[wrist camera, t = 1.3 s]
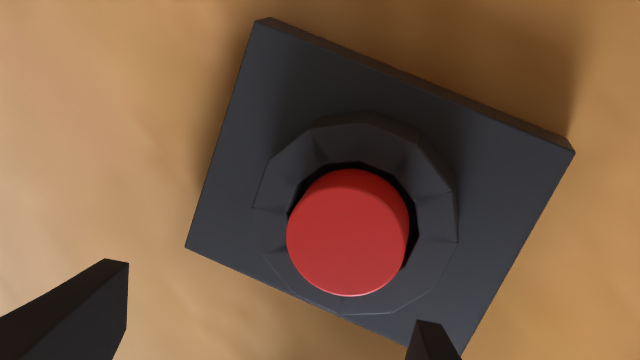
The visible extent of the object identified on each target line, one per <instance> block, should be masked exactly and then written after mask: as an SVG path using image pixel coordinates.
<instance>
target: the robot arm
mask: <svg viewBox="0 0 640 360" xmlns="http://www.w3.org/2000/svg"><path fill="white" fill-rule="evenodd" d="M128 273H129V263H127V262H121V261H116V260H111V259H106V258H104V259H103V260H101V261H99V262H97V263H96V264H94V265H92V266H91V267H89V268H87V269H86V270H84V271H82V272H81V273H79V274H78V275H76V276H74V277H73V278H71V279H69V280H68V281H66V282H64V283H63V284H61V285H59V286H57V287H56V288H54V289H52V290H51V291H49V292H47V293H45V294H44V295H42V296H40V297H38V298H36V299H34V300H33V301H31V302H29V303H27V304H25V305H23V306H21V307H19V308H17V309H15V310H13V311H12V312H10V313H8V314H6V315H4V316H2V317H0V360H112V359H113V357H114V355H115V353H116V350H117V348H118V346H119V344H120V342H121V339H122V337H123V335H124V333H125V331H126V322H127V297H128ZM405 360H462V359H461V357H460V356H459V354H458V352H457V350H456V349H455V347H454V345H453V343H452V341H451V340H450V338H449V336H448V334H447V333H446V331H445V329H444V327H443V326H442V324H439V323H434V322H429V321H424V320H419V319H416V323H415V326H414V330H413V333H412V336H411V340H410V343H409V347H408V350H407V354H406V357H405Z"/></svg>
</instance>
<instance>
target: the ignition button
mask: <svg viewBox="0 0 640 360" xmlns="http://www.w3.org/2000/svg"><path fill="white" fill-rule="evenodd" d="M409 226H410V223H409V214H408V210H407V207H406V204H405V202H404V200H403V198H402V197H401V195H400V194H399V192H398V191H397V190H396V189H395V188H394V187H393V186H392V185H391V184H390V183H389V182H388V181H386V180H385V179H383V178H382V177H380V176H378V175H376V174H374V173H372V172H369V171H365V170H361V169H352V168H351V169H340V170H335V171H332V172H329V173H327V174H325V175H323V176H321V177H320V178H318V179H317V180H316V181H315V182H313V183H312V184H311V186H310V187H309V188H308V189H307V191H306V192H305V193H304V195H303V196H302V198H301V199H300V201H299V202H298V203H297V205H296V206H295V208H294V209H293V211H292V213H291V215H290V217H289V220H288V223H287V228H286V244H287V249H288V253H289V255H290V258H291V260H292V262H293V264H294V266H295V267H296V269H297V270H298V271H299V273H300V274H301V275H302V276H303V277H304V278H305V279H306V280H307V281H308V282H310V283H311V284H312V285H314V286H315V287H317V288H319V289H321V290H323V291H325V292H328V293H331V294H334V295H339V296H352V297H353V296H361V295H366V294H369V293H372V292H375V291H376V290H378V289H380V288H382V287H383V286H385V285H386V284H388V283H389V282H390V281H391V280H392V279H393V278H394V276H395V275H396V274H397V272H398V271H399V269H400V267H401V265H402V262H403V259H404V255H405V250H406V245H407V240H408V235H409Z"/></svg>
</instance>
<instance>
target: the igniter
mask: <svg viewBox="0 0 640 360" xmlns="http://www.w3.org/2000/svg"><path fill="white" fill-rule="evenodd" d="M574 155H575V150H574V149H573V147H572V146H571V144H570V143H569V141H568V140H567V138H565V137H562V136H560V135H557V134H555V133H553V132H550V131H548V130H545V129H543V128H540V127H538V126H536V125H533V124H531V123H528V122H526V121H523V120H521V119H518V118H516V117H514V116H511V115H509V114H506V113H504V112H501V111H499V110H497V109H494V108H492V107H489V106H487V105H484V104H482V103H479V102H477V101H475V100H472V99H470V98H467V97H465V96H462V95H460V94H458V93H455V92H453V91H450V90H448V89H445V88H443V87H440V86H438V85H436V84H433V83H431V82H428V81H426V80H423V79H421V78H419V77H416V76H414V75H411V74H409V73H406V72H404V71H401V70H399V69H397V68H394V67H392V66H389V65H387V64H384V63H382V62H380V61H377V60H375V59H372V58H370V57H367V56H365V55H362V54H360V53H358V52H355V51H353V50H350V49H348V48H345V47H343V46H341V45H338V44H336V43H333V42H331V41H328V40H326V39H323V38H321V37H319V36H316V35H314V34H311V33H309V32H306V31H304V30H302V29H299V28H297V27H294V26H292V25H289V24H287V23H284V22H282V21H280V20H277V19H275V18H272V17H267V18H263V19H259V20H255V22H254V25H253V28H252V31H251V34H250V38H249V41H248V44H247V47H246V50H245V54H244V57H243V60H242V63H241V66H240V70H239V73H238V76H237V79H236V82H235V86H234V89H233V92H232V95H231V98H230V102H229V105H228V108H227V111H226V115H225V118H224V121H223V124H222V127H221V131H220V134H219V137H218V140H217V143H216V147H215V150H214V153H213V156H212V159H211V163H210V166H209V169H208V172H207V175H206V179H205V182H204V185H203V188H202V192H201V195H200V198H199V201H198V204H197V208H196V211H195V214H194V217H193V220H192V224H191V227H190V230H189V233H188V236H187V240H186V243H185V248H187V249H189V250H191V251H193V252H196V253H198V254H200V255H202V256H204V257H207V258H209V259H211V260H213V261H216V262H218V263H220V264H222V265H225V266H227V267H229V268H231V269H234V270H236V271H238V272H240V273H242V274H245V275H247V276H249V277H251V278H254V279H256V280H258V281H260V282H263V283H265V284H267V285H269V286H271V287H274V288H276V289H278V290H280V291H283V292H285V293H287V294H289V295H292V296H294V297H296V298H298V299H301V300H303V301H305V302H307V303H309V304H312V305H314V306H316V307H318V308H321V309H323V310H325V311H327V312H330V313H332V314H334V315H336V316H339V317H341V318H343V319H345V320H347V321H350V322H352V323H354V324H356V325H359V326H361V327H363V328H365V329H368V330H370V331H372V332H374V333H377V334H379V335H381V336H383V337H385V338H388V339H390V340H392V341H394V342H397V343H399V344H401V345H403V346H406V347H409V343H410V340H411V336H412V333H413V330H414V326H415V323H416V319H419V320H424V321H429V322H434V323H439V324H442V326H443V327H444V329H445V331H446V333H447V334H448V336H449V338H450V340H451V341H452V343H453V345H454V347H455V349H456V350H457V352H458V354H459V356H460V357H461V355H462V353H463V351H464V350H465V348H466V346H467V344H468V342H469V341H470V339H471V337H472V335H473V334H474V332H475V330H476V328H477V327H478V325H479V323H480V321H481V320H482V318H483V316H484V314H485V312H486V311H487V309H488V307H489V305H490V304H491V302H492V300H493V298H494V297H495V295H496V293H497V291H498V289H499V288H500V286H501V284H502V282H503V281H504V279H505V277H506V275H507V274H508V272H509V270H510V268H511V267H512V265H513V263H514V261H515V259H516V258H517V256H518V254H519V252H520V251H521V249H522V247H523V245H524V244H525V242H526V240H527V238H528V237H529V235H530V233H531V231H532V229H533V228H534V226H535V224H536V222H537V221H538V219H539V217H540V215H541V214H542V212H543V210H544V208H545V207H546V205H547V203H548V201H549V199H550V198H551V196H552V194H553V192H554V191H555V189H556V187H557V185H558V184H559V182H560V180H561V178H562V176H563V175H564V173H565V171H566V169H567V168H568V166H569V164H570V162H571V161H572V159H573V157H574ZM351 168H352V169H361V170H365V171H369V172H372V173H374V174H376V175H378V176H380V177H382V178H383V179H385V180H386V181H388V182H389V183H390V184H391V185H392V186H393V187H394V188H395V189H396V190H397V191H398V192H399V194H400V195H401V197H402V198H403V200H404V202H405V204H406V207H407V210H408V214H409V223H410V226H409V235H408V240H407V245H406V250H405V255H404V259H403V262H402V265H401V267H400V269H399V271H398V272H397V274H396V275H395V276H394V278H393V279H392V280H391V281H390V282H389V283H388V284H386V285H385V286H383V287H382V288H380V289H378V290H376V291H375V292H372V293H369V294H366V295H361V296H353V297H352V296H339V295H334V294H331V293H328V292H325V291H323V290H321V289H319V288H317V287H315V286H314V285H312V284H311V283H310V282H308V281H307V280H306V279H305V278H304V277H303V276H302V275H301V274H300V273H299V271H298V270H297V269H296V267H295V266H294V264H293V262H292V260H291V258H290V255H289V253H288V249H287V244H286V228H287V223H288V220H289V217H290V215H291V213H292V211H293V209H294V208H295V206H296V205H297V203H298V202H299V201H300V199H301V198H302V196H303V195H304V193H305V192H306V191H307V189H308V188H309V187H310V186H311V184H312V183H313V182H315V181H316V180H317V179H318V178H320V177H321V176H323V175H325V174H327V173H329V172H332V171H335V170H340V169H351Z"/></svg>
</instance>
